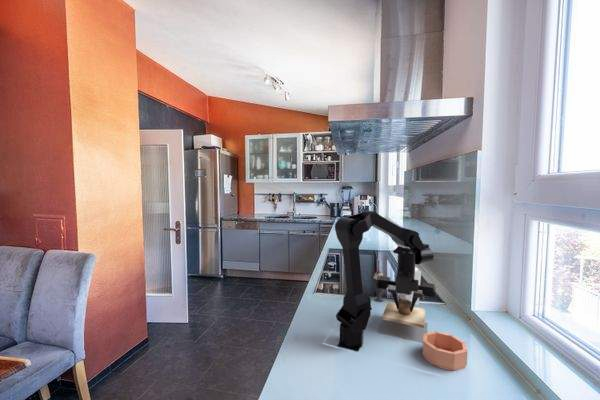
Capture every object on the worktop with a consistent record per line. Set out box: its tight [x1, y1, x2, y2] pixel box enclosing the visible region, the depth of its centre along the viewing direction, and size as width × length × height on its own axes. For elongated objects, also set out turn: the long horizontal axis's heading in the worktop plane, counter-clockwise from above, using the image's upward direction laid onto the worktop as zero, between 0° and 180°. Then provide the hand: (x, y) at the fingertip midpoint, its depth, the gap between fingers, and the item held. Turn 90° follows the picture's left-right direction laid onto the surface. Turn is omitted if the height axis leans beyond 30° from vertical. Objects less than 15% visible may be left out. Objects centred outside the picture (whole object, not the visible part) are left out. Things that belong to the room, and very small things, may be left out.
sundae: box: [370, 268, 385, 303], centre depth 120 cm, size 7×7×15 cm
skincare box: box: [398, 266, 422, 306], centre depth 121 cm, size 8×6×15 cm
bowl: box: [422, 330, 468, 371], centre depth 81 cm, size 11×11×5 cm
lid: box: [381, 298, 426, 328], centre depth 97 cm, size 13×13×5 cm
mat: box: [377, 319, 429, 344], centre depth 97 cm, size 15×15×1 cm
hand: (404, 310), depth 97 cm, fingers closed on lid, 4 cm apart
